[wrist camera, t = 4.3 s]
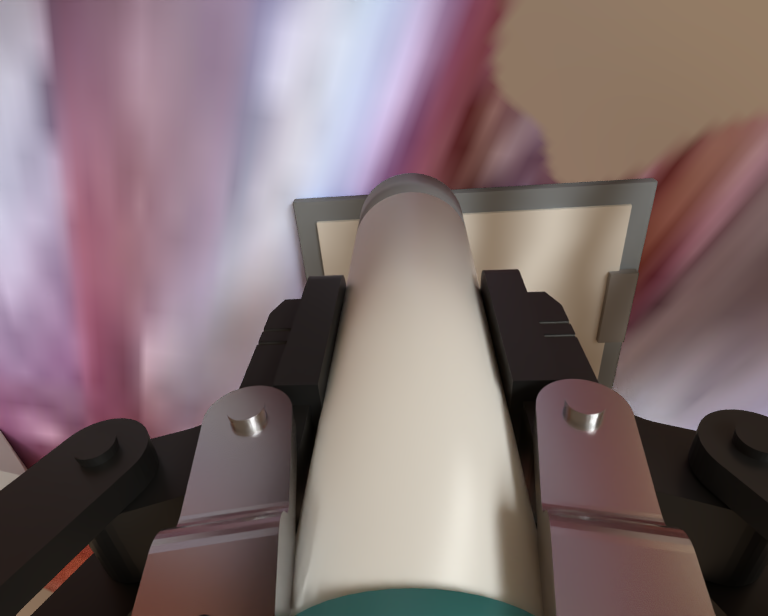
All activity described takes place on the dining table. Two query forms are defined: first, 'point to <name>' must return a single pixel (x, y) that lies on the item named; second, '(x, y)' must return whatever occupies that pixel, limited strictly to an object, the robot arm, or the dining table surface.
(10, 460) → the white faceted polyhedron
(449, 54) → the dining table surface
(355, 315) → the marker
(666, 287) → the dining table surface
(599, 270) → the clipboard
